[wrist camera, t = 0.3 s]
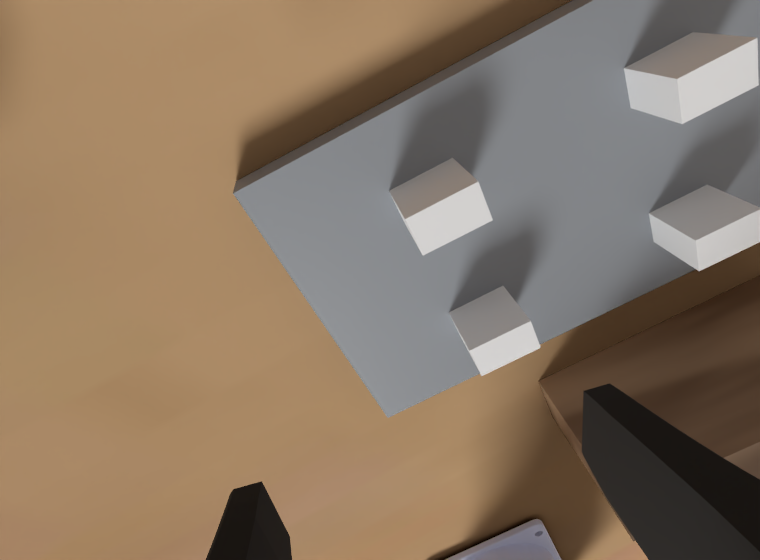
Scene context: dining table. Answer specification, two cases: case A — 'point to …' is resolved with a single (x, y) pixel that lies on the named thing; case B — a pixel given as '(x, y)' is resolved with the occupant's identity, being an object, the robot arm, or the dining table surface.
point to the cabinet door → (681, 377)
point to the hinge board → (523, 189)
